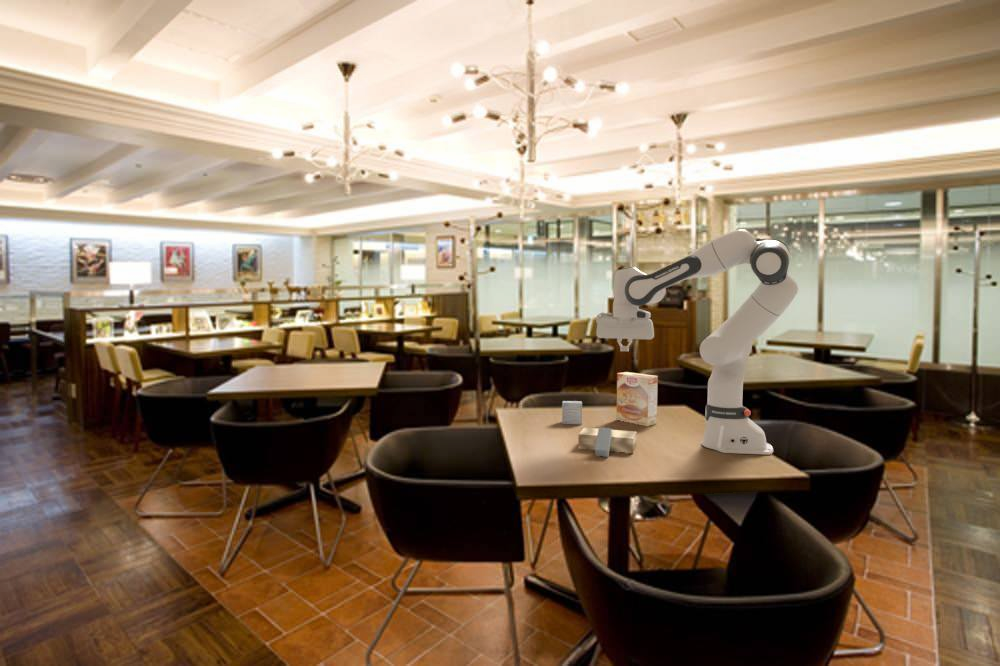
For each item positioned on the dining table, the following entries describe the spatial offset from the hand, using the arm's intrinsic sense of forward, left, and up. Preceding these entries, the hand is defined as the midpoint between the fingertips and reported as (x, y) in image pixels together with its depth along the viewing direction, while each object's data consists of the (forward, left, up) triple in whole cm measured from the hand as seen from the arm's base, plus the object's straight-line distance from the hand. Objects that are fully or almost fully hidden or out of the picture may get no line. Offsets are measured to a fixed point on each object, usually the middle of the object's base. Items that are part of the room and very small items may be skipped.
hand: (624, 351), depth 208 cm
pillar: (+3, +22, -24) cm, 33 cm away
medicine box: (+22, -14, -31) cm, 41 cm away
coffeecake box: (-2, -25, -31) cm, 40 cm away
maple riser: (+3, +17, -31) cm, 36 cm away
